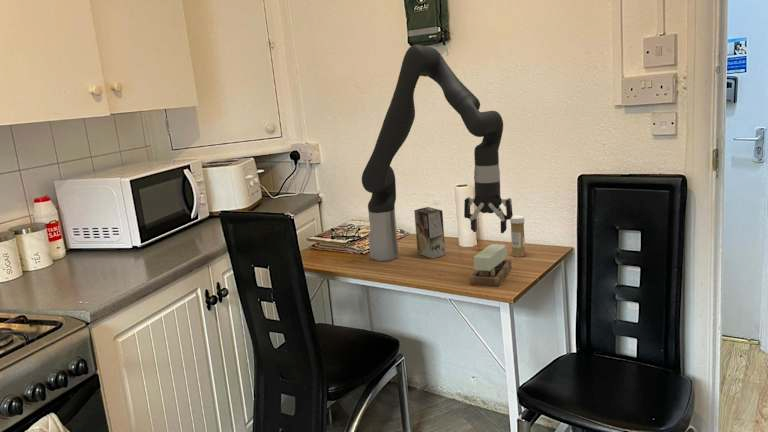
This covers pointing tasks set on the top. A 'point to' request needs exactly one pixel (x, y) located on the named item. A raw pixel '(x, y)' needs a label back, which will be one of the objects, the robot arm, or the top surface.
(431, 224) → the coffee box
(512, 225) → the sprinkles bottle
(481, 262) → the pale green block
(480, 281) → the peg frame
